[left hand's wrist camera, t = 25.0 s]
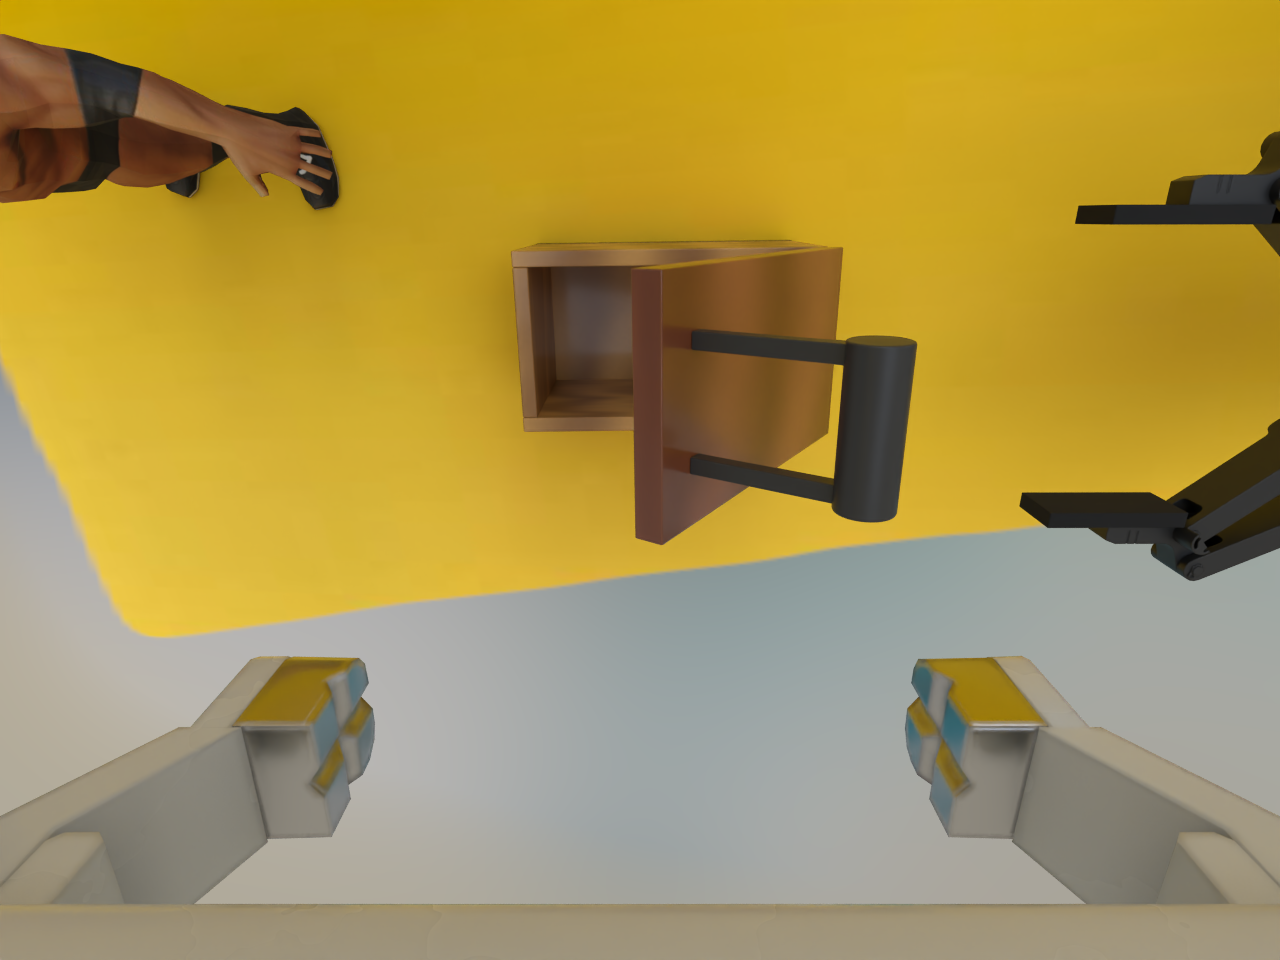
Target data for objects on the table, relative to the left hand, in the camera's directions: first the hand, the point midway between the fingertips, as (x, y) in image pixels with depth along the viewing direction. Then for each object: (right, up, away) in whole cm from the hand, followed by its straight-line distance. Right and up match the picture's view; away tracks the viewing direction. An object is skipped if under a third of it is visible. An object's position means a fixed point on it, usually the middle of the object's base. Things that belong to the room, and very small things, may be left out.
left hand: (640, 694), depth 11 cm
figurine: (-26, +25, +37) cm, 51 cm away
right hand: (+19, +8, +22) cm, 30 cm away
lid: (+5, +8, +23) cm, 25 cm away
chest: (+2, +15, +40) cm, 43 cm away
